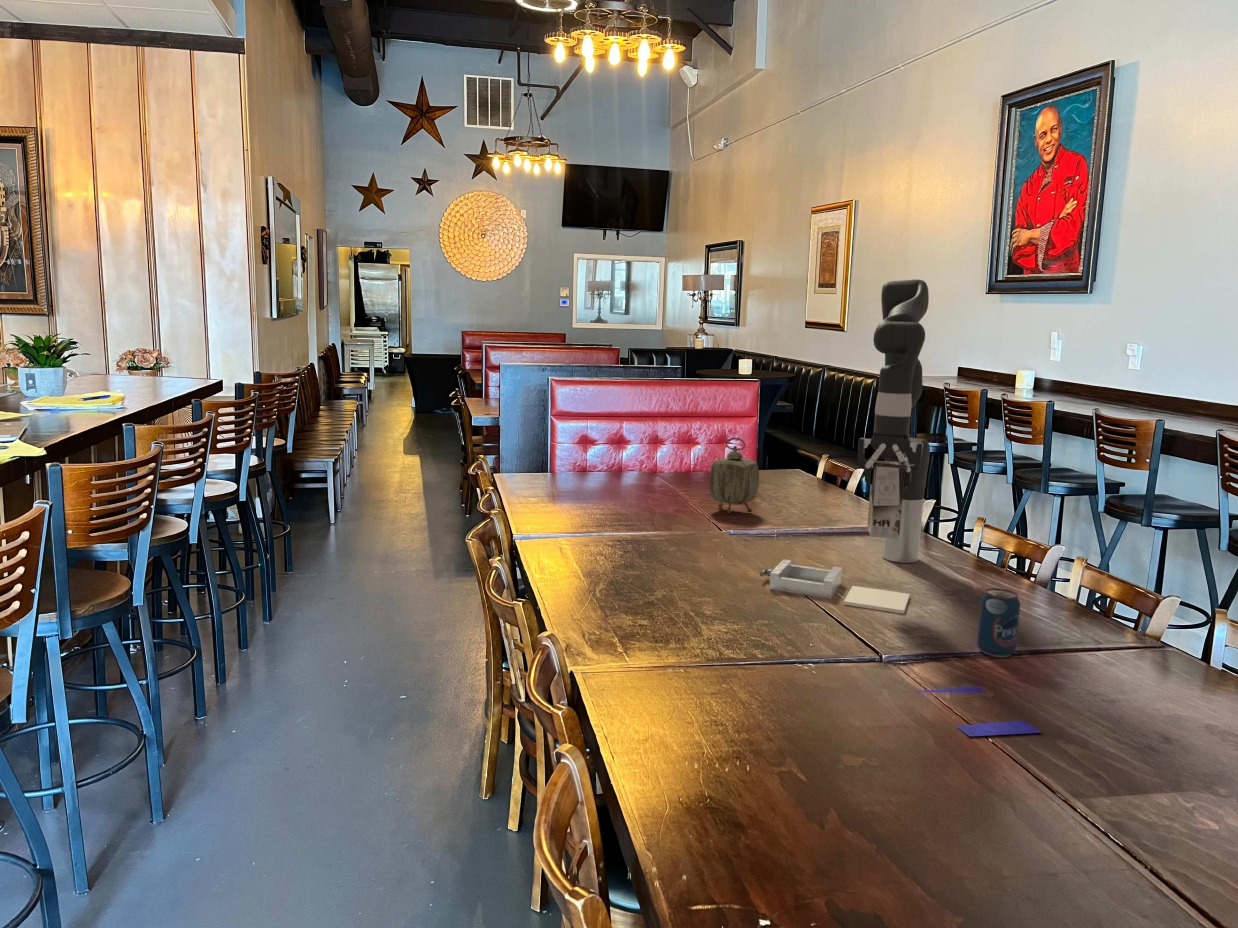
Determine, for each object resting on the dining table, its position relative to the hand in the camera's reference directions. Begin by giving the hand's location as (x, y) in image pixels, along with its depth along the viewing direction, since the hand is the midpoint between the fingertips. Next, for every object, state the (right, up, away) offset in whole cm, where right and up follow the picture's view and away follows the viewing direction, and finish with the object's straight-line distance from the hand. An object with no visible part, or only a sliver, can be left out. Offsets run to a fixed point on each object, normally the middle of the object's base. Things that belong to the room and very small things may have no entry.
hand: (886, 486), depth 192 cm
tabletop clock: (-23, -11, +92) cm, 96 cm away
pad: (-1, -26, +4) cm, 27 cm away
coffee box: (0, -11, +2) cm, 11 cm away
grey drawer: (-17, -24, +14) cm, 33 cm away
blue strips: (-2, -36, -47) cm, 59 cm away
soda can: (+14, -32, -24) cm, 42 cm away
